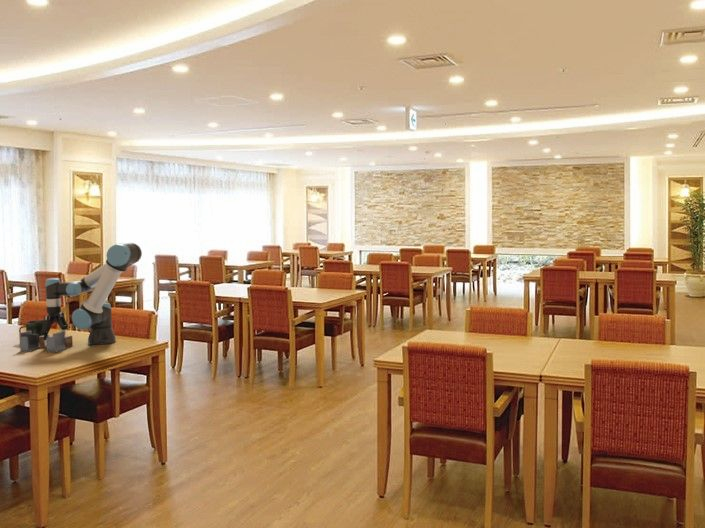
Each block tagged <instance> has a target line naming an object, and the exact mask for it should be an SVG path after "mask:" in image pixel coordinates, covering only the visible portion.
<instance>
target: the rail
mask: <svg viewBox="0 0 705 528" xmlns="http://www.w3.org/2000/svg"><path fill="white" fill-rule="evenodd" d="M49 337H53V334H49ZM41 347H42V348H47V346H45V341H44V335H43V336H40V337H39V348H41ZM70 347H73V335H65V349H67V348H70Z"/></svg>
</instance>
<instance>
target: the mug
mask: <svg viewBox="0 0 705 528" xmlns="http://www.w3.org/2000/svg"><path fill="white" fill-rule="evenodd" d="M43 322H44V319H43V320H41V319H39V320H30V321H25V322H24V324H25V325H22V326H20V327H19V329H18V331H19V333H22V332H21V331H22V330H21V329H23V328H24V329H25V332H26V331H30V330H32V334H38V341H39V337H40V336H43V335H44V334H41V330H42V326H43Z"/></svg>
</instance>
